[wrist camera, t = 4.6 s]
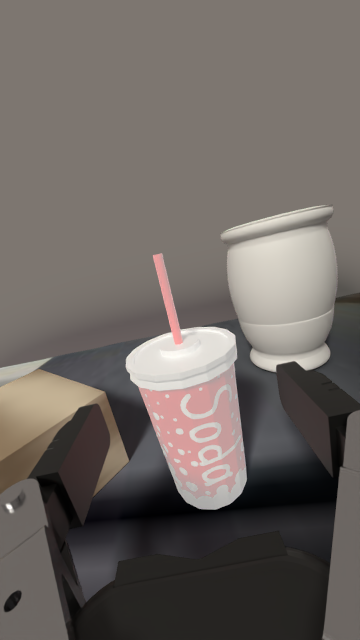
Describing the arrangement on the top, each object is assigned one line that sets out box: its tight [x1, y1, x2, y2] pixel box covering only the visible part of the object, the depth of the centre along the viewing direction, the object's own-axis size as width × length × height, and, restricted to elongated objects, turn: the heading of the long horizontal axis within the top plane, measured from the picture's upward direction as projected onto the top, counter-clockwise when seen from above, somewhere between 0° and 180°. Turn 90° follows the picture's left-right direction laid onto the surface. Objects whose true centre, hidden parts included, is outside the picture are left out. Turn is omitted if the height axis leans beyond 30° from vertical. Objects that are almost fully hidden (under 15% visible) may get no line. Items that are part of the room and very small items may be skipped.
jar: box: [221, 205, 338, 372], centre depth 26 cm, size 11×10×15 cm
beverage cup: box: [126, 253, 247, 510], centre depth 14 cm, size 6×6×14 cm
